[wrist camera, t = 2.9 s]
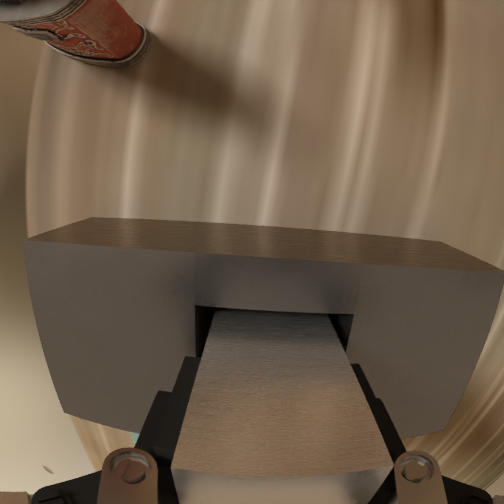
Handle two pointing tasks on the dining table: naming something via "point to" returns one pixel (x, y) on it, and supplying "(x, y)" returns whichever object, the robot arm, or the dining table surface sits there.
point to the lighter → (80, 29)
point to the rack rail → (253, 308)
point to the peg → (277, 417)
